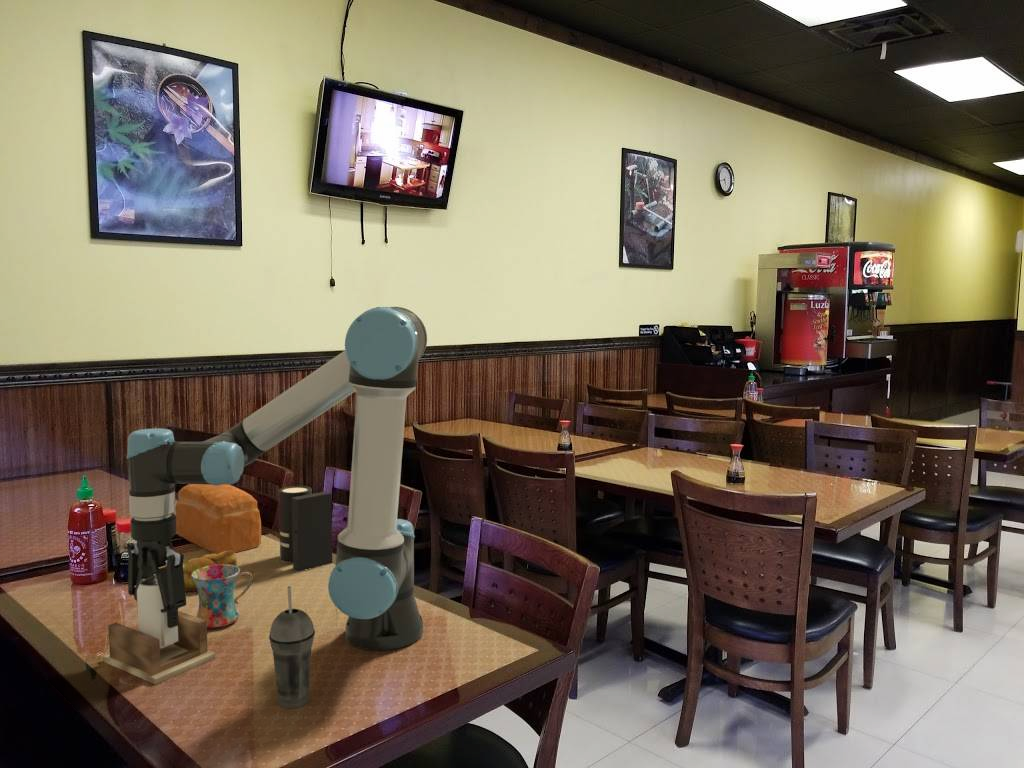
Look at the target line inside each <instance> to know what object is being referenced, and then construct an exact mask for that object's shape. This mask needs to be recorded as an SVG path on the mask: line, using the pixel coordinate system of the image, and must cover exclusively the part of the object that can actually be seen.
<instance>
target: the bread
mask: <svg viewBox="0 0 1024 768" xmlns="http://www.w3.org/2000/svg"><path fill="white" fill-rule="evenodd" d="M177 497H178V498H177V499H178V501H177V503H175V507H176V511H175V515H176V524H177V532H176V534H177V535H178V537H180V538H182V537H183V538H182V539H185V540H186V541H188V542H190V543H192V544H194V545H196V546H198V547H200V548H202V549H205V550H207V551H209V552H211V553H212V554H219V553H221V552H224V551H229V550H231V551H234V553H235V554H236V553H239V552H242V551H247V550H250V549H253V548H256V547H258V546H260V544H262V518H261V515H260V510H259V508H258V501H257V500H256V499H255V498H254V497H253V495H251V494H250V493H248V492H246V491H245V490H242V489H240V488H238V487H236V486H234V485H232V484H224V485H219V486H215V485H204V484H185V486H183V487H182V488H181V489H179V490H178V492H177Z"/></svg>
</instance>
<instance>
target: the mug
mask: <svg viewBox="0 0 1024 768" xmlns="http://www.w3.org/2000/svg"><path fill="white" fill-rule="evenodd" d="M244 575H248V576H249V582H248V584H247V586H246V587H245V588H244V590H243V591H242V592H241V593H240V594H239V595H237V596H236V597H235V588H236V585H237V582H238V580H239V579H240V577H242V576H244ZM191 577H192V579H193V581H194V583H195V585H196V587H197V595H198V610H197V615H196V616H195V617H197V618H200V619H203V620H206V621H207V628H210V629H211V628H214V629H215V628H222V627H225V626H229V625H230V624H233V623H234V622H236V621H237V620H238V619H239V618H240V612H239V611H238V609H237V607H236V605H238V604H239V601H237V600H238V599H240V598H242V596H244V595H245V594H246V592H247V591H248V590H249V589H250V587H251V585H252V583H253V580H254V579H253V575H252V574H251V573H250V572H249V571H243V572H241V569H240V567H239V566H238V565H237V566H234V565H227V564H220V565H211V566H206V567H202V568H199V569H197V570H195V571H194V572H193V573H192V574H191Z"/></svg>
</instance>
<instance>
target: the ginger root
mask: <svg viewBox="0 0 1024 768" xmlns="http://www.w3.org/2000/svg"><path fill="white" fill-rule="evenodd" d="M220 564H227V565H234V566H237V567H238V560H237V556H236V552H235V553H234V551H231V550H229V551H224V552H221V553H219V554H215V553H210V554H204V555H203V556H202V557H197V558H191V559H189V560H187V562H186V563H185V565H183V572H184V583H185V592H195V591H197V587H196V585H195V583H194V581H193V579H192V577H191V574H192V573H193V572H194V571H195V570H197V569H199V568H202V567H206V566H211V565H220ZM197 592H198V591H197Z"/></svg>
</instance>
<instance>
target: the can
mask: <svg viewBox="0 0 1024 768" xmlns="http://www.w3.org/2000/svg"><path fill="white" fill-rule="evenodd" d="M169 603H170V602H169ZM136 608H137V609H136V611H137V610H138V614H137V627H138V629H137V631H140V632H142V633H145V634H147V635H150V636H152V637H155V638H157V639H159V642H160V649H164V648H167V647H170V646H172V645H173V644H174V643H172V644H170V645H167V646H162V625H161V611H160V610H161V609H164V606H163V602H162V597H161V593H160V589H159V585H158V581H157V576H156V574H154V575H153V576H151V577H150V578H148V579H141V580H140V581H139V587H138V589H137V601H136Z"/></svg>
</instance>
